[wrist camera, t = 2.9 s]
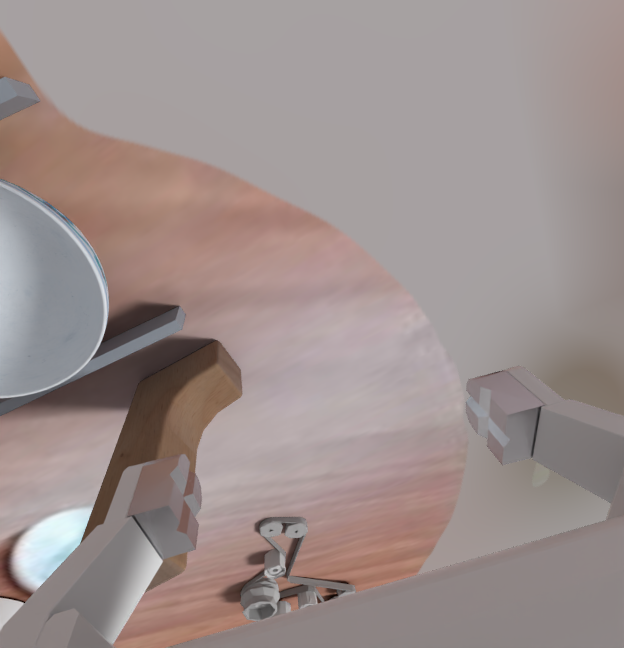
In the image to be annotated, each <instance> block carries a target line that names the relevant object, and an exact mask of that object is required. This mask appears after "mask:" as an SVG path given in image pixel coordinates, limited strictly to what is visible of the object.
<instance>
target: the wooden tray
mask: <svg viewBox="0 0 624 648" xmlns="http://www.w3.org/2000/svg"><path fill="white" fill-rule="evenodd" d="M38 102H40V100H39V98H38V97H37V95H36V94H35V92H34V91H33V89H32V88H31V86H30V85H29V84H26V83H23V82H19V81H16V80H13V79H10V78H7V77H4V78H1V79H0V120H1V119H4V118H6V117H8V116H10V115H12V114H14V113H16V112H18V111H21V110H23V109H25V108H27V107H29V106H31V105H33V104H35V103H38ZM185 316H186V314H185V313H184V311H183V310H182V309H181V307H180V306H178V307H176V308H174V309H172V310H170V311H168V312H166V313H164V314H162V315H159V316H157V317H155V318H153V319H151V320H149V321H147V322H145V323H143V324H141V325H138V326H136V327H134V328H132V329H130V330H128V331H126V332H124V333H122V334H120V335H117V336H115V337H113V338H111V339H109V340H107V341H105V342H103V343H101V344H100V346H99V348H98V349H97V351H96V353H95V354H94V356H93V357H92V358H91V360H90V361H89V362H88V363H87V364H86V365H85V366H84V367H83V368H82V369H81V370H80V371H79V372H78V373H76V374H75V375H74V376H72V377H71V378H69V379H68V380H66V381H64V382H63V383H61V384H59V385H57V386H54V387H52V388H50V389H47V390H44V391H41V392H38V393H34V394H30V395H25V396H19V397H11V398H0V416H1V415H3V414H6V413H8V412H10V411H12V410H14V409H16V408H18V407H20V406H22V405H24V404H27V403H29V402H31V401H33V400H35V399H37V398H39V397H41V396H43V395H45V394H48V393H50V392H52V391H54V390H56V389H58V388H60V387H62V386H64V385H66V384H69V383H71V382H73V381H75V380H77V379H79V378H81V377H83V376H85V375H87V374H90V373H92V372H94V371H96V370H98V369H100V368H102V367H104V366H106V365H108V364H111V363H113V362H115V361H117V360H119V359H121V358H123V357H125V356H127V355H129V354H132V353H134V352H136V351H138V350H140V349H142V348H144V347H146V346H148V345H150V344H153V343H155V342H157V341H159V340H161V339H163V338H165V337H167V336H169V335H171V334H174V333H176V332H178V331H180V330H182V328H183V324H184V320H185Z"/></svg>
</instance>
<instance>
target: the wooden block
mask: <svg viewBox="0 0 624 648" xmlns="http://www.w3.org/2000/svg"><path fill="white" fill-rule="evenodd" d="M241 396H242V382H241V370H240V368H239V367H238V366H237V364H236V363H235V362H234V360H233V359H232V358H231V356H230V355H229V354H228V352H227V351H226V350H225V348H224V347H223V346H222V344H221V343H220V342H219V341H214V342H212V343H210V344H209V345H207V346H205V347H203V348H201V349H199V350H198V351H196V352H194V353H192V354H190V355H188V356H187V357H185V358H183V359H181V360H179V361H177V362H176V363H174V364H172V365H170V366H168V367H166V368H165V369H163V370H161V371H159V372H157V373H155V374H154V375H152V376H150V377H148V378H146V379H144V380H143V381H141V382H140V383H139V384H138V387H137V390H136V392H135V395H134V398H133V401H132V403H131V406H130V409H129V412H128V414H127V417H126V420H125V423H124V425H123V428H122V431H121V433H120V436H119V439H118V442H117V444H116V447H115V450H114V453H113V455H112V458H111V461H110V464H109V466H108V469H107V472H106V475H105V477H104V480H103V483H102V486H101V488H100V491H99V494H98V497H97V499H96V502H95V505H94V507H93V510H92V513H91V516H90V518H89V521H88V524H87V527H86V529H85V532H84V535H83V538H82V540H81V543H82V542H83V541H84V539H85V538H86V537H87V536H88V535H89V534H90V533H91V532H92V531H93V530H94V529H95V528H96V527H97V526H98V525H101V524H104V521H105V519H106V516H107V513H108V511H109V508H110V505H111V503H112V500H113V497H114V495H115V492H116V489H117V487H118V484H119V481H120V479H121V476H122V473H123V471H124V470H125V469H126V468H127V467H129V466H134V465H138V464H143V463H146V462H149V461H153V460H158V459H162V458H166V457H170V456H175V455H179V454H186V456H187V458H188V460H189V461H190V467H189V471H191V472H194V473H195V466H196V456H197V448H198V445H199V442H200V439H201V436H202V433H203V430H204V429H205V428H206V427H207V425H208V424H209V423H210V422H211V420H212V419H213V418H214V416H215V415H216V414H217V413H218V412H219V411H221V410H222V409H224V408H225V407H227V406H228V405H230V404H231V403H233V402H234V401H236V400H237V399H239V398H240V397H241ZM81 543H80V544H81ZM186 563H187V552H186V553H182V554H179V555H176V556H173V557H169V558H166V559H163V562H162V564H161V566H160V567H159V569H158V571H157V572H156V574H155V576H154V577H153V579H152V581H151V582H150V584H149V586H148V587H147V589H146V591H145V592H147V591H149V590H151V589H152V588H154V587H156V586H158V585H160V584H162V583H164V582H166V581H168V580H169V579H171V578H173V577H175V576H177V575H179V574H181V573H182V572H183V571H184V570H185V568H186ZM145 592H144V593H145Z"/></svg>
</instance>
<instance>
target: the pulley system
mask: <svg viewBox="0 0 624 648" xmlns="http://www.w3.org/2000/svg"><path fill="white" fill-rule="evenodd" d="M281 523H287V524H286V530H285V536H287V537H289V538H300V539H299V541H298V544H297V546H296V549H295V552H294V554H293V557H292V560H291V562H290V565H289V567H288V570H287V573H286V576H287V581H289V582H290V583H297V584H304V585H303V586H300V587H296V588H292V589H288V590H284V591H281V592H279V590H278V585H277V582H276V581H275V580H274V579H276V578H278V577H281V576H283V575H285V571H286V568H285V559H286V552H285V551H284V550H283V549H282V548H281V547H280V546H279V545H278V544H277V543H276V542H275V541H274V540H273V539H271V538H270V537H273V536H278V535H280V534H281V531H282V528H283V526H282V524H281ZM307 530H308V528H307V522H306V519H304V518H302V517H271V518H267V519H265V520H263V521H262V522H261V523H260V526H259V531H260V534H261V536H264V537H265V538H266V539H267V540H268V541H269V542H270V543H271V544H272V545H273V546H274V547H275V548H276V549H273V550H271V551H269V552H268V553H266V554H265V570H264V572H262V573H261V574H259V575H258V576H257V577H255V578H254V579H252V580H251V581H250V582H248V583H247V584H245V585H244V587H243V589H242V591H241V595H240V596H241V603H240V604H241V605H242V606H243V607H244V611H243V612H242V613H243V614H244V616H245V617H246V619H248V620H253V621H260V620H263V619H267V618H270V617H274V616H277V615H280V614H284V613H287V612H291V606H290V603H288V602H286V601H279V602H278V600H279V599H280V598H283V597H287V596H290V595H294V594H297V595H298V606H299V609H301V608H305V607H308V606H311V605H315V604H317V597H316V595H317V596H318V597H319V599H320V600H321V601H322V602H325V601H324V599H323V598H322V596H321V595H320V593H319V592H318V590H317V589H316V587H315V586H318V587H325V588H332V589H337V594H338V596H334V597H333V598H331V599H330V600H332V599H336V598H339V597H342V596H346V595H349V594H353V593H356V590H355V586H354V585H350V584H343V583H336V582H329V581H322V580H315V579H309V578H302V577H295V576H289V574H290V572H291V569H292V567H293V564H294V562H295V559H296V557H297V554H298V552H299V550H300V547H301V545H302V542H303V540H304V537H305V535H306V533H307ZM265 575H266V576H267V577H268V578H262V577H264V576H265Z"/></svg>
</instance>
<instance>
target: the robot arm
mask: <svg viewBox="0 0 624 648" xmlns="http://www.w3.org/2000/svg"><path fill="white" fill-rule="evenodd" d="M466 391H467V392H468V393H469V394H470V395H471V396H470V397H469V399H468V401H467V402H466V413H467V416H468V420H469V422H470V424H471V425H472V427H473V429H474V430H475V431H476V433H477V434H478V435H480V436H482V437H485V438H487V439H488V440H487V447H488V448H489V449H490V451H491V452H492V453H493V454H494V456H495V457H496V458H497V459H498V460H499V462H500V463H501V464H502V465H505V464H509V463H513V462H517V461H521V460H525V459H529V458H533V460H534V461H536V462H538V463H540V464H542V465H543V466H545V467H547V468H549V469H551V470H552V471H554V472H556V473H558V474H559V475H561V476H563V477H565V478H567V479H569V480H570V481H572V482H574V483H576V484H577V485H579V486H581V487H583V488H584V489H586V490H588V491H590V492H592V493H593V494H595V495H597V496H599V497H601V498H602V499H604V500H606V501H608V502H609V503H611V505H610V508H609V511H608V514H607V517H606V520H605V521H602V522H598V523H595V524H592V525H588V526H584V527H581V528H578V529H574V530H571V531H567V532H564V533H560V534H557V535H554V536H550V537H547V538H543V539H540V540H536V541H533V542H530V543H526V544H523V545H519V546H516V547H512V548H509V549H505V550H502V551H498V552H495V553H492V554H488V555H485V556H481V557H478V558H474V559H471V560H468V561H464V562H461V563H457V564H454V565H450V566H446V567H443V568H440V569H436V570H432V571H429V572H426V573H422V574H419V575H415V576H412V577H408V578H405V579H401V580H398V581H394V582H391V583H387V584H384V585H381V586H377V587H374V588H370V589H367V590H363V591H360V592H356V593H353V594H349V595H346V596H342V597H339V598H336V599H332V600H329V601H325V602H322V603H318V604H315V605H311V606H308V607H305V608H301V609H298V610H294V611H291V612H287V613H284V614H280V615H277V616H274V617H270V618H267V619H263V620H260V621H256V622H253V623H249V624H246V625H243V626H239V627H236V628H232V629H229V630H225V631H222V632H218V633H215V634H212V635H208V636H205V637H201V638H198V639H194V640H191V641H187V642H184V643H180V644H177V645H174V646H170V647H167V648H624V416H622V415H619V414H616V413H612V412H609V411H606V410H603V409H600V408H597V407H594V406H590V405H587V404H584V403H581V402H578V401H575V400H572V399H570V400H564V399H563V398H562V397H560V396H559V395H558V394H557V393H555V392H554V391H553V390H552V389H550V388H549V387H548V386H547V385H545V384H544V383H543V382H542V381H540V380H539V379H538V378H537V377H536V376H534V375H533V374H532V373H531V372H529V371H528V370H527V369H525V368H524V367H522V366H516V367H512V368H508V369H505V370H502V371H498V372H494V373H490V374H487V375H483V376H479V377H476V378H472V379H469V380H468V382H467V388H466ZM189 467H190V461H189V460H188V458H187V456H186V454H179V455H175V456H170V457H166V458H162V459H158V460H153V461H149V462H146V463H143V464H138V465H134V466H129V467H127V468H126V469H125V470H124V471H123V473H122V476H121V479H120V481H119V484H118V487H117V489H116V492H115V495H114V497H113V500H112V503H111V505H110V508H109V511H108V513H107V516H106V519H105V521H104V524H101V525H98V526H97V527H96V528H95V529H94V530H93V531H92V532H91V533H90V534H89V535H88V536H87V537H86V538H85V539H84V541H83V542H82V543H81V544H80V545H79V546H78V547H77V548H76V549H75V550H74V551H73V552H72V553H71V554H70V555H69V556H68V558H67V559H66V560H65V561H64V562H63V563H62V564H61V565H60V566H59V567H58V568H57V569H56V570H55V571H54V572H53V573H52V575H51V576H50V577H49V578H48V579H47V580H46V581H45V582H44V583H43V584H42V585H41V586H40V587H39V588H38V589H37V590H36V592H35V593H34V594H33V595H32V596H31V597H30V598H29V599H28V600H27V601H26V602H25V603H23V602H20V601H16V600H11V599H5V598H0V648H115V647H114V646H113V643H114V642H115V640H116V638H117V637H118V635H119V634H120V632H121V630H122V629H123V627H124V625H125V624H126V622H127V620H128V619H129V617H130V615H131V614H132V612H133V610H134V609H135V607H136V605H137V604H138V602H139V600H140V599H141V597H142V595H143V594H144V592H145V591H146V589H147V587H148V586H149V584H150V582H151V581H152V579H153V577H154V576H155V574H156V572H157V571H158V569H159V567H160V566H161V564H162V562H163V559H166V558H169V557H173V556H176V555H179V554H182V553H186V552H189V551H192V550H196V543H197V535H198V527H199V524H198V522H197V520H196V518H195V516H196V515H197V513H198V512H199V511H200V509H201V502H202V495H201V486H200V482H199V479H198V477H197V475H196V473H194V472H191V471H189Z"/></svg>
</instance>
